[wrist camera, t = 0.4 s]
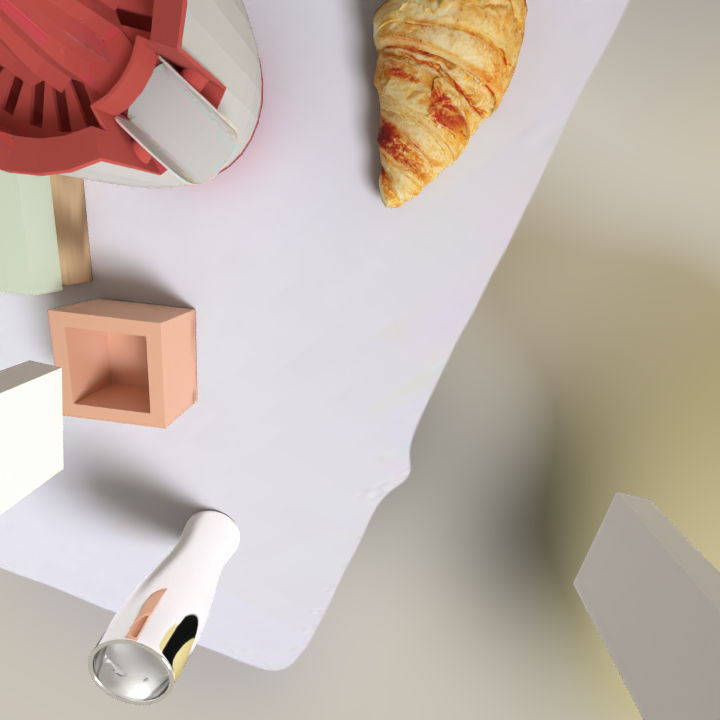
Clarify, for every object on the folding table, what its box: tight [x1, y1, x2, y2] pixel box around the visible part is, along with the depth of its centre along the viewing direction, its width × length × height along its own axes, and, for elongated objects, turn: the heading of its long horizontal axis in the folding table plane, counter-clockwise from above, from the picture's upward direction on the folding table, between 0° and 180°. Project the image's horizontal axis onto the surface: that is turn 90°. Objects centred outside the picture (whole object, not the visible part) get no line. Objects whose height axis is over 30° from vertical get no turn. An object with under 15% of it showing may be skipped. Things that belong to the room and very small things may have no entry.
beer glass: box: [88, 510, 240, 705], centre depth 38 cm, size 7×7×15 cm
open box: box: [48, 298, 197, 428], centre depth 36 cm, size 9×9×6 cm
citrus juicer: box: [0, 0, 263, 189], centre depth 23 cm, size 16×17×20 cm
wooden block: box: [50, 174, 92, 285], centre depth 35 cm, size 10×12×3 cm
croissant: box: [373, 0, 528, 208], centre depth 28 cm, size 21×10×8 cm, turn 161°
